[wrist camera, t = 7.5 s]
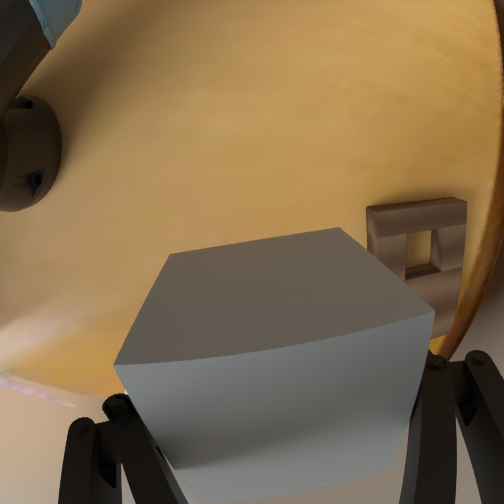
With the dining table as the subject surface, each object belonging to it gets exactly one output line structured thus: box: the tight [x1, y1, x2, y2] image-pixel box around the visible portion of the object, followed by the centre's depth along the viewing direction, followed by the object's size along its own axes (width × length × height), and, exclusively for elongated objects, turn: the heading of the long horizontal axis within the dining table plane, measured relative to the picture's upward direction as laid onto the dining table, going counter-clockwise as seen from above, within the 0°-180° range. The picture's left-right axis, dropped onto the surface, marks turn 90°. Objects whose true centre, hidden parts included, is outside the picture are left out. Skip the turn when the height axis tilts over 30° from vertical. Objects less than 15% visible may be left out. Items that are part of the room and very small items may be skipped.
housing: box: [113, 227, 435, 502], centre depth 13 cm, size 9×9×9 cm
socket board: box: [366, 197, 467, 340], centre depth 36 cm, size 20×14×3 cm
